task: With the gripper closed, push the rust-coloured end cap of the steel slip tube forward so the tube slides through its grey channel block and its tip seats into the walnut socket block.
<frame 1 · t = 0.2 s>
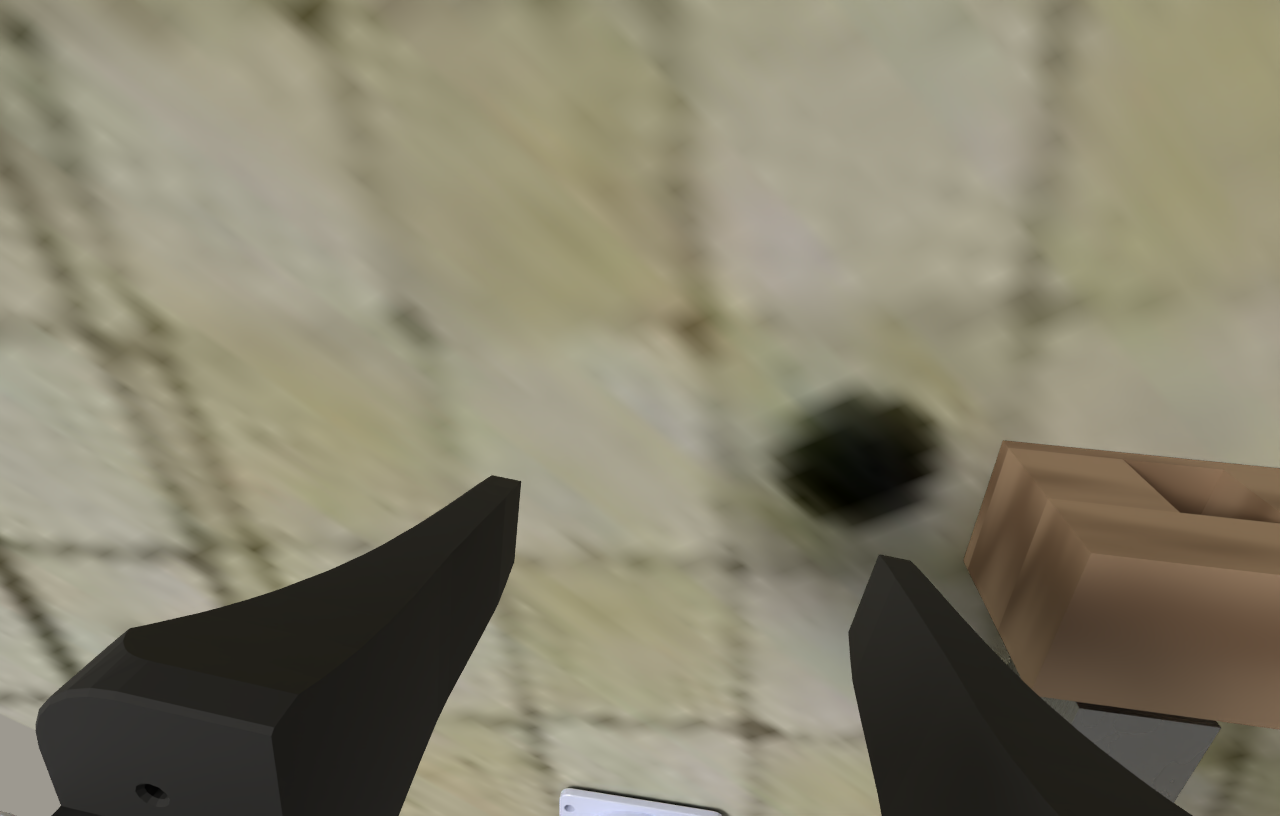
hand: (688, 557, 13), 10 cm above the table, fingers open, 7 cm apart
socket block: (1134, 520, 22), on the table
grey channel block: (1064, 673, 25), on the table
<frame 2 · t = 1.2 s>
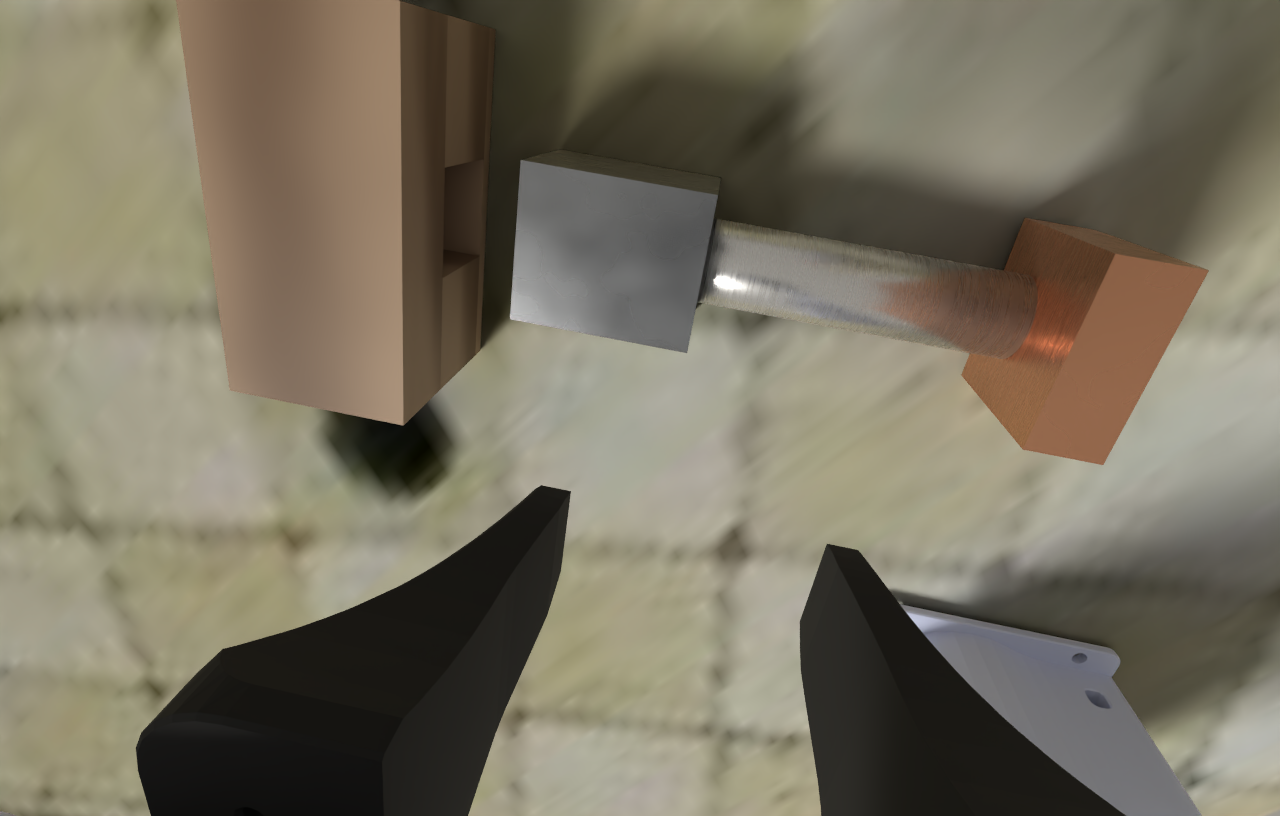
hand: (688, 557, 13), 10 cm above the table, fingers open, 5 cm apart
socket block: (412, 192, 21), on the table
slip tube: (803, 285, 18), point 3 cm above the table, slide at 0.0 cm
grey channel block: (630, 232, 21), on the table
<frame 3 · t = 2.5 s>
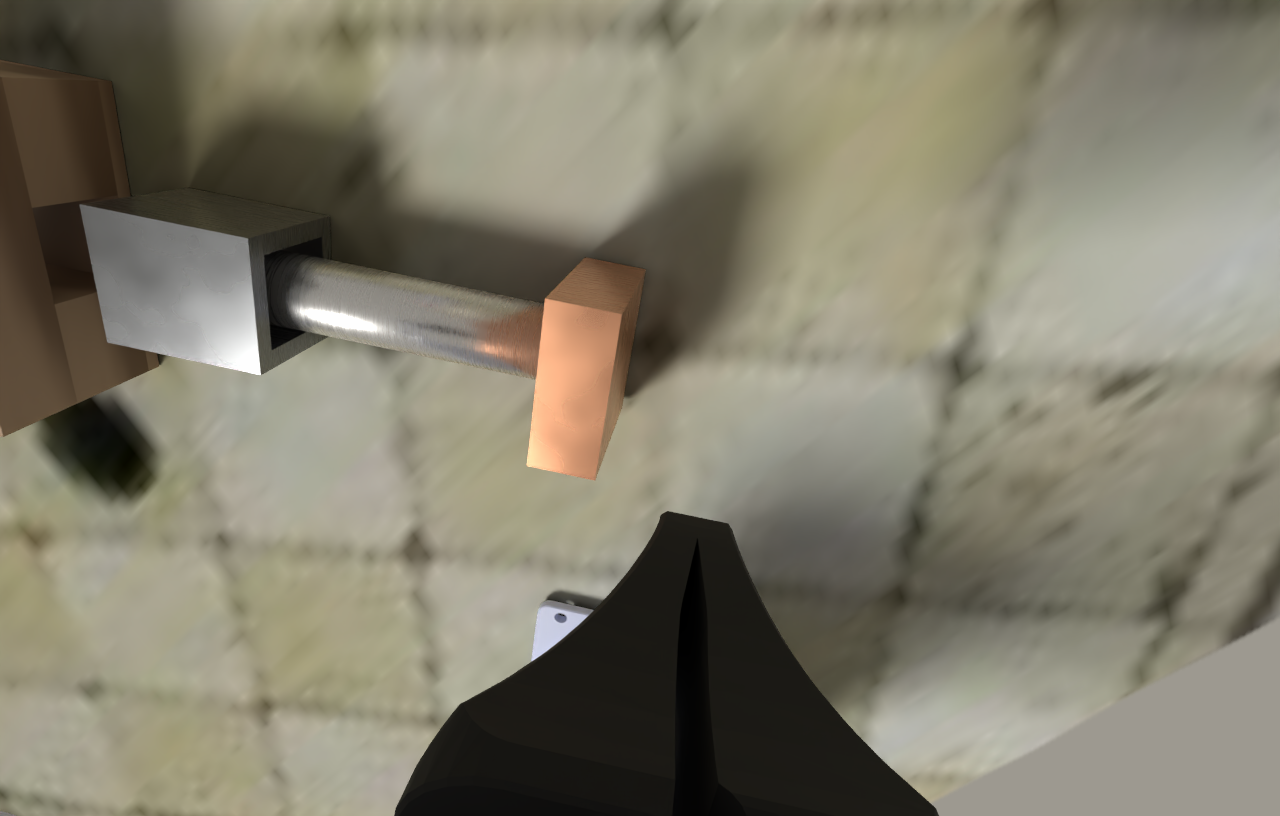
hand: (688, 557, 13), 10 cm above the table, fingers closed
socket block: (71, 223, 23), on the table
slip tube: (368, 316, 20), point 3 cm above the table, slide at 0.0 cm
grey channel block: (263, 262, 23), on the table
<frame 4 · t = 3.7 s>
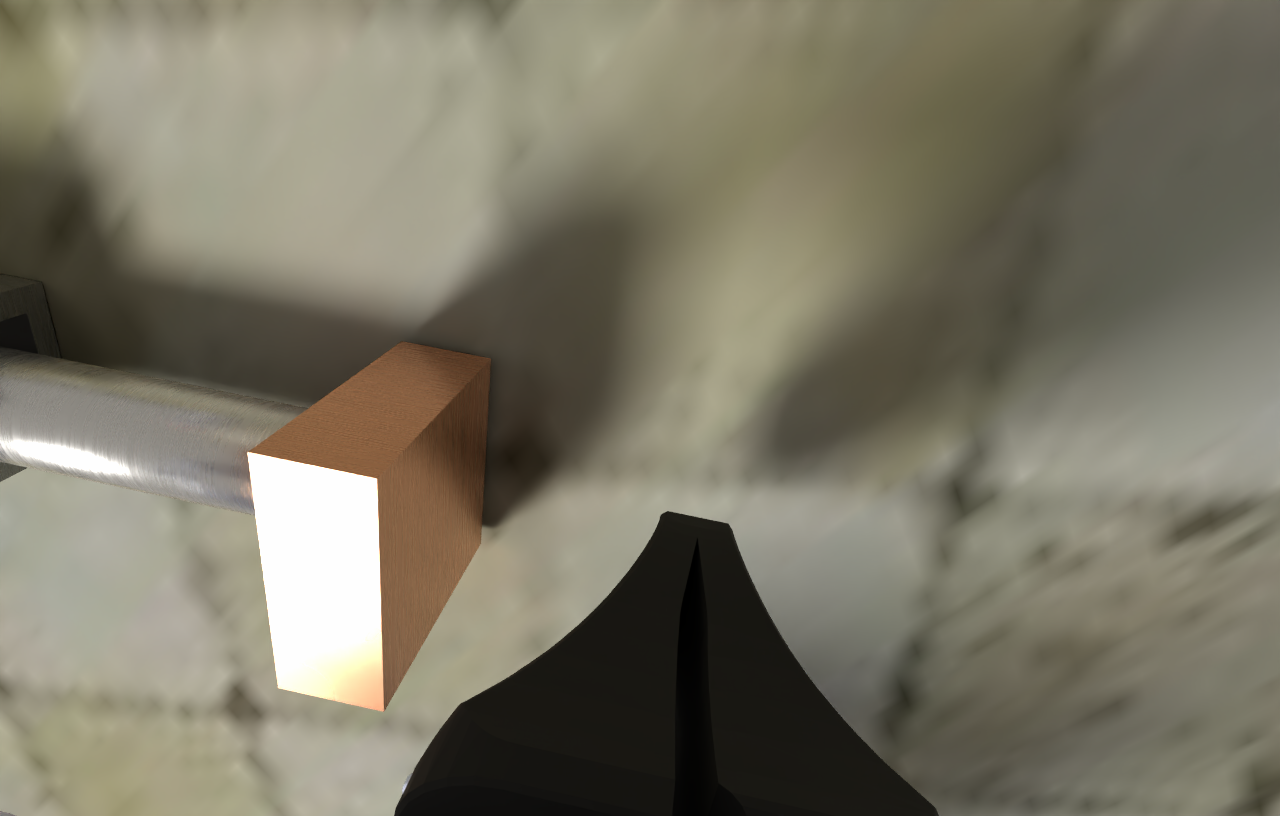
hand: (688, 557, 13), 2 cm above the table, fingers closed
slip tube: (64, 440, 13), point 3 cm above the table, slide at 0.0 cm
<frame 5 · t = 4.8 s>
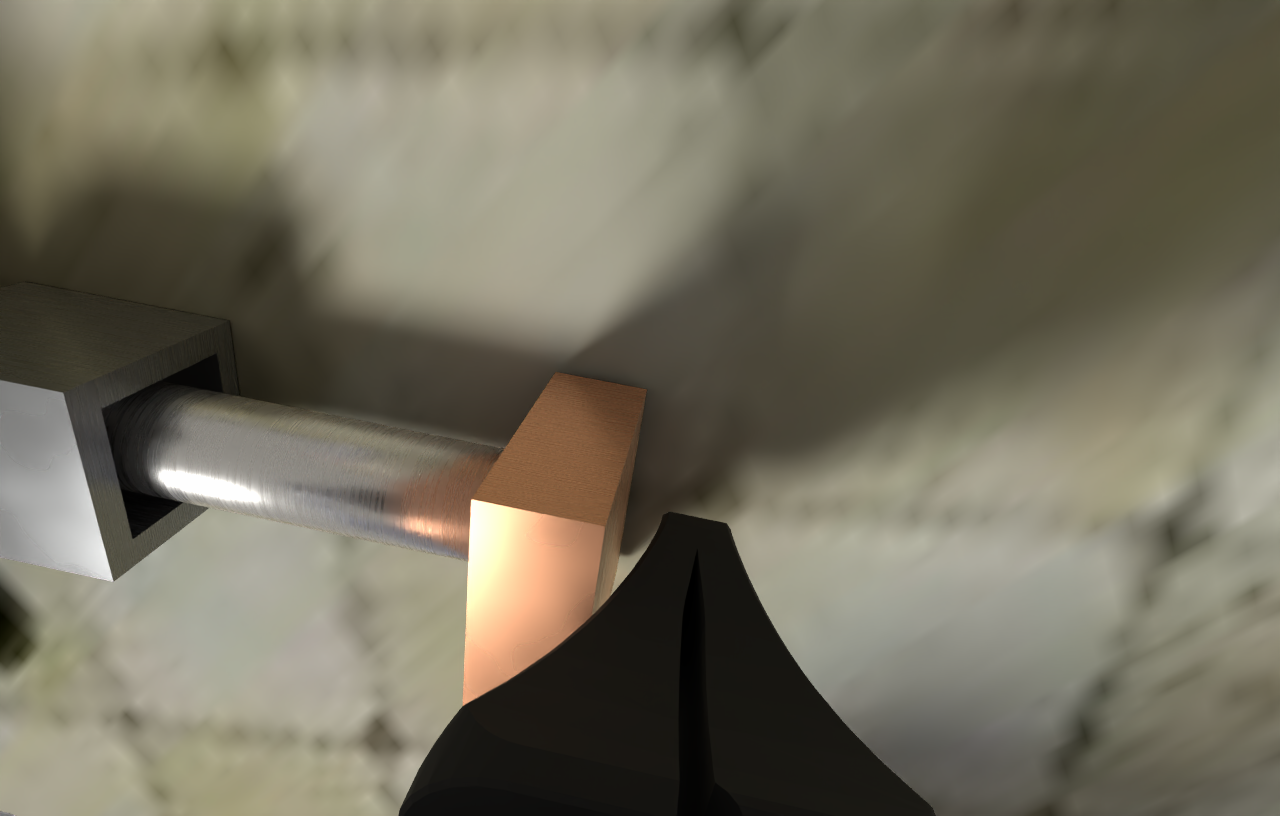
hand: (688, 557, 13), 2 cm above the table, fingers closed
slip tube: (224, 475, 13), point 3 cm above the table, slide at 1.1 cm, touching gripper
grey channel block: (143, 383, 16), on the table
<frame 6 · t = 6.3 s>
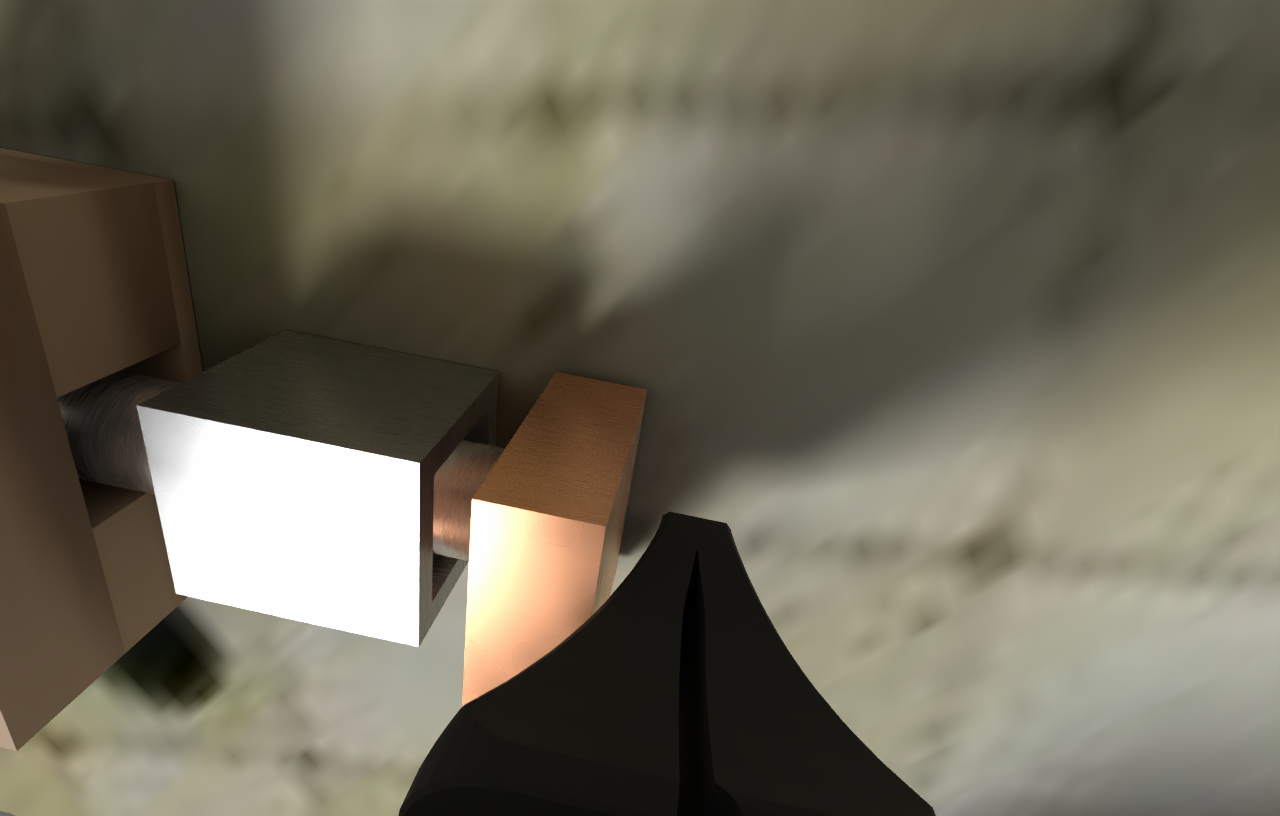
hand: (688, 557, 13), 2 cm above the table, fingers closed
socket block: (109, 374, 16), on the table
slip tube: (224, 474, 13), point 3 cm above the table, slide at 7.5 cm, touching gripper
grey channel block: (392, 432, 16), on the table
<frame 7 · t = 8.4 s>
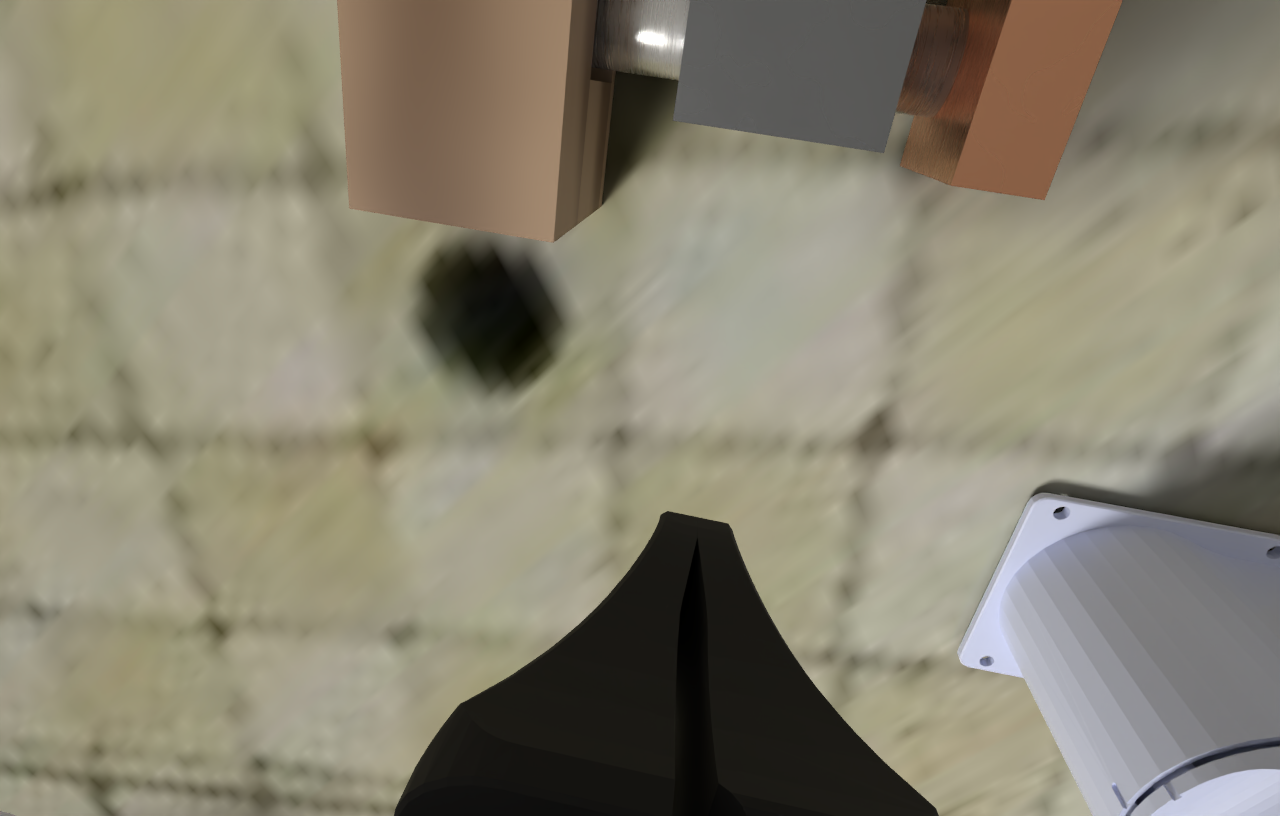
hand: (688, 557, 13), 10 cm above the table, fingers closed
socket block: (534, 12, 19), on the table
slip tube: (704, 27, 16), point 3 cm above the table, slide at 7.5 cm
grey channel block: (786, 48, 18), on the table
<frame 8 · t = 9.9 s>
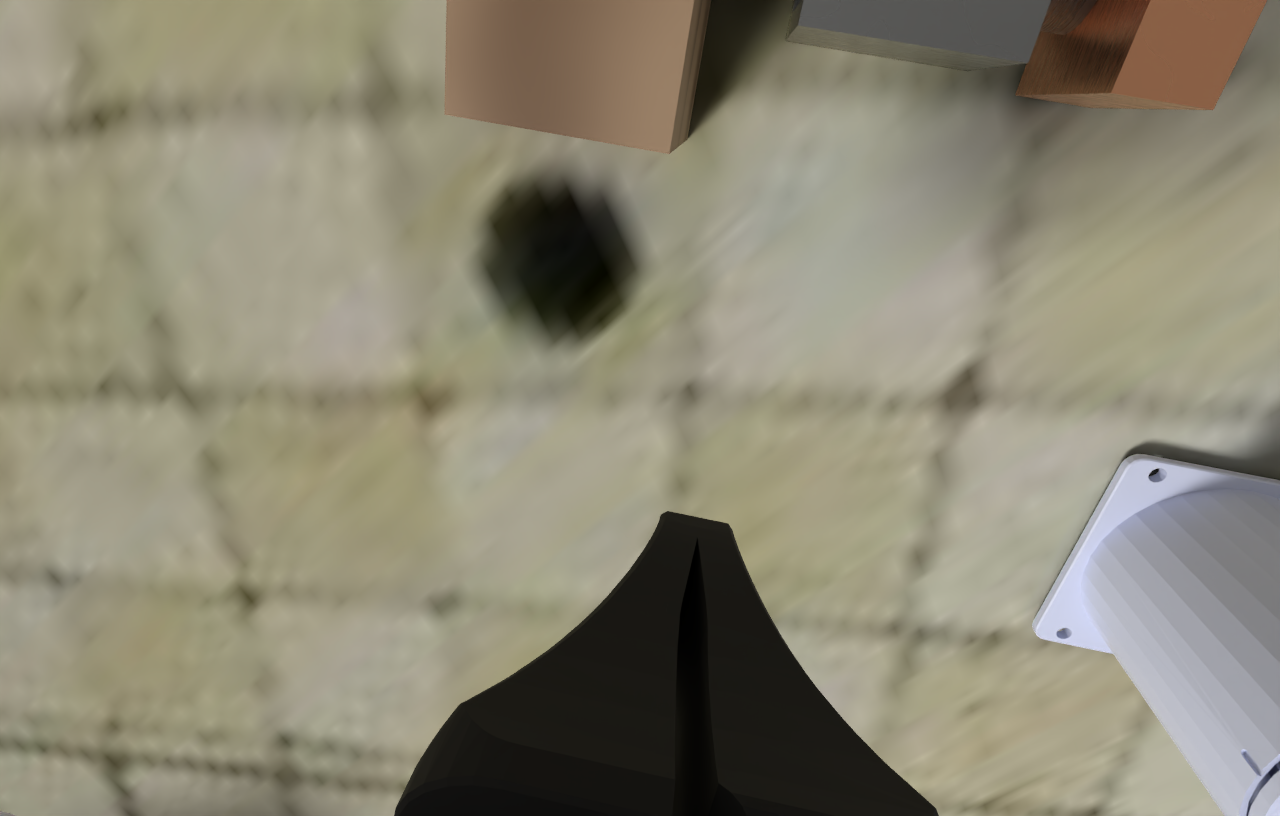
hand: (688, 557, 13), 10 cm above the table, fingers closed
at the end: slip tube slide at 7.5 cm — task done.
